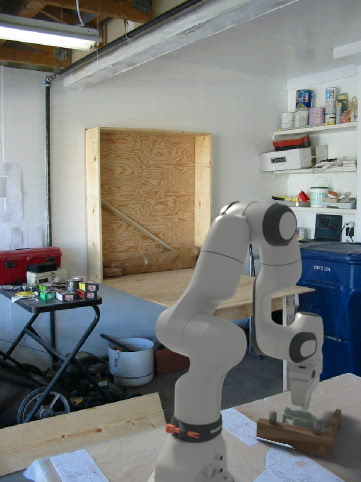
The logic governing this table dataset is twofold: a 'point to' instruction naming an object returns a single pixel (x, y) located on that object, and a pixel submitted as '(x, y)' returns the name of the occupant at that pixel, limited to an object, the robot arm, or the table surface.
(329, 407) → the table surface
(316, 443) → the bench stop
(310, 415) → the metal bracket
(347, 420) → the table surface
